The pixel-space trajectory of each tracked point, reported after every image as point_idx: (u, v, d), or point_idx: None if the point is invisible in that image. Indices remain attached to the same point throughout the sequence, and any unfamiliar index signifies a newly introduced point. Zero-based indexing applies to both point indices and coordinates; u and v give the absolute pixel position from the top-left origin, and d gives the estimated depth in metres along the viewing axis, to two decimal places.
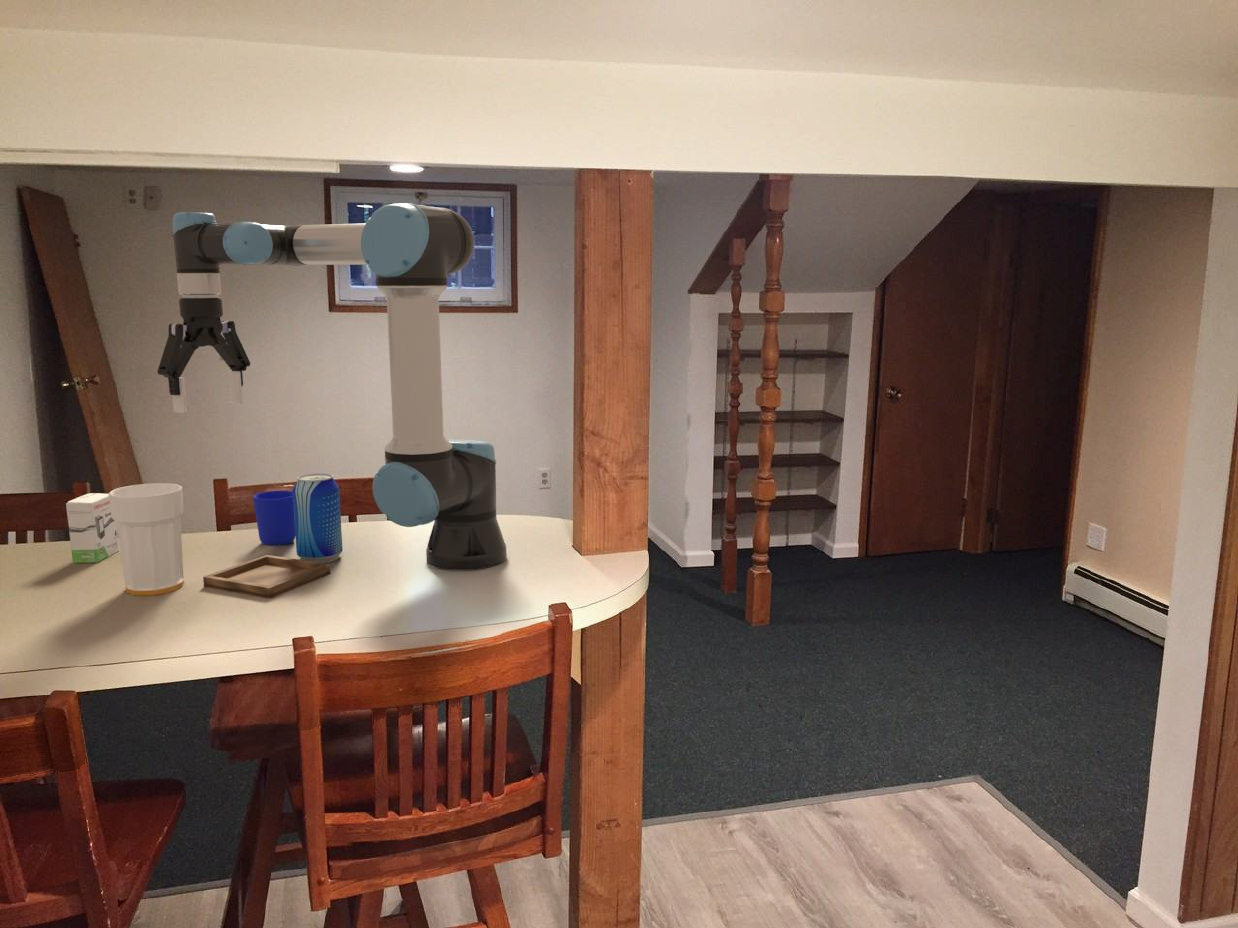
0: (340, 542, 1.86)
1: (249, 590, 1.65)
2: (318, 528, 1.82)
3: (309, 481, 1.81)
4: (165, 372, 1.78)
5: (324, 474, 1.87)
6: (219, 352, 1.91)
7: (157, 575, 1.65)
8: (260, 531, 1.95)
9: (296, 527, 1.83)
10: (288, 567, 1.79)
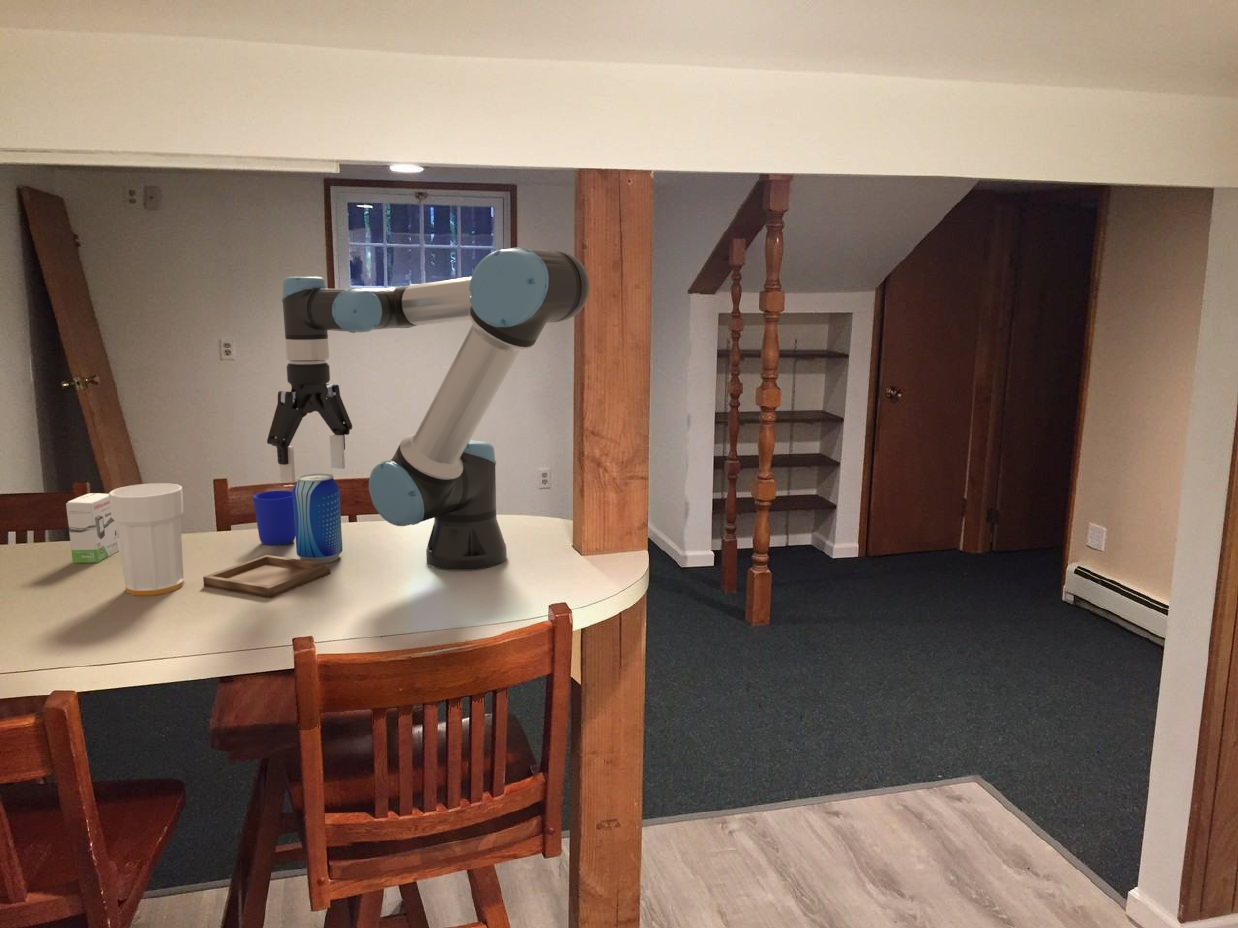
0: (340, 542, 1.86)
1: (249, 590, 1.65)
2: (318, 528, 1.82)
3: (309, 481, 1.81)
4: (275, 442, 1.73)
5: (324, 474, 1.87)
6: (323, 416, 1.86)
7: (157, 575, 1.65)
8: (260, 531, 1.95)
9: (296, 527, 1.83)
10: (288, 567, 1.79)
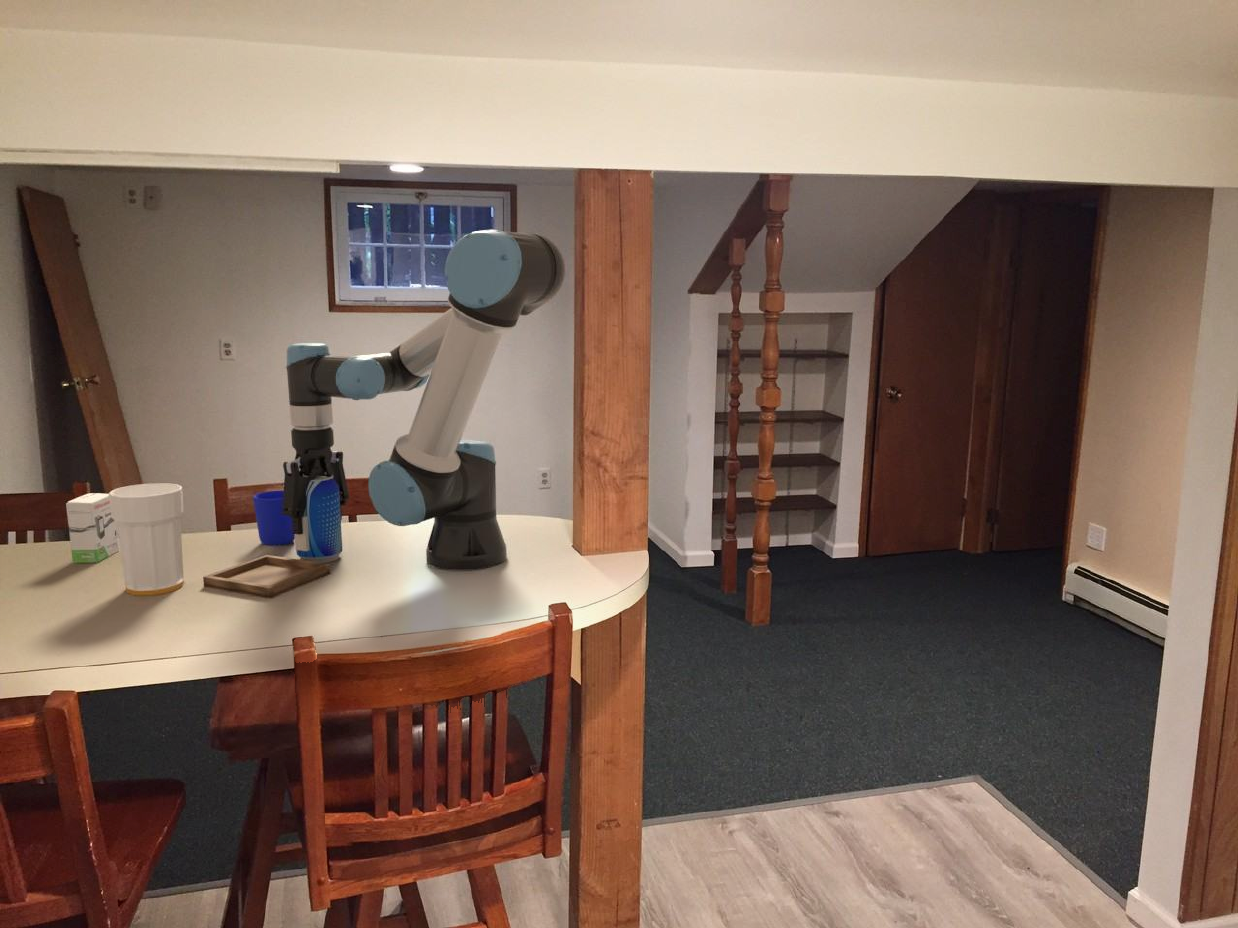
0: (340, 542, 1.86)
1: (249, 590, 1.65)
2: (318, 528, 1.82)
3: None
4: (290, 514, 1.78)
5: None
6: None
7: (157, 575, 1.65)
8: (260, 531, 1.95)
9: None
10: (288, 567, 1.79)
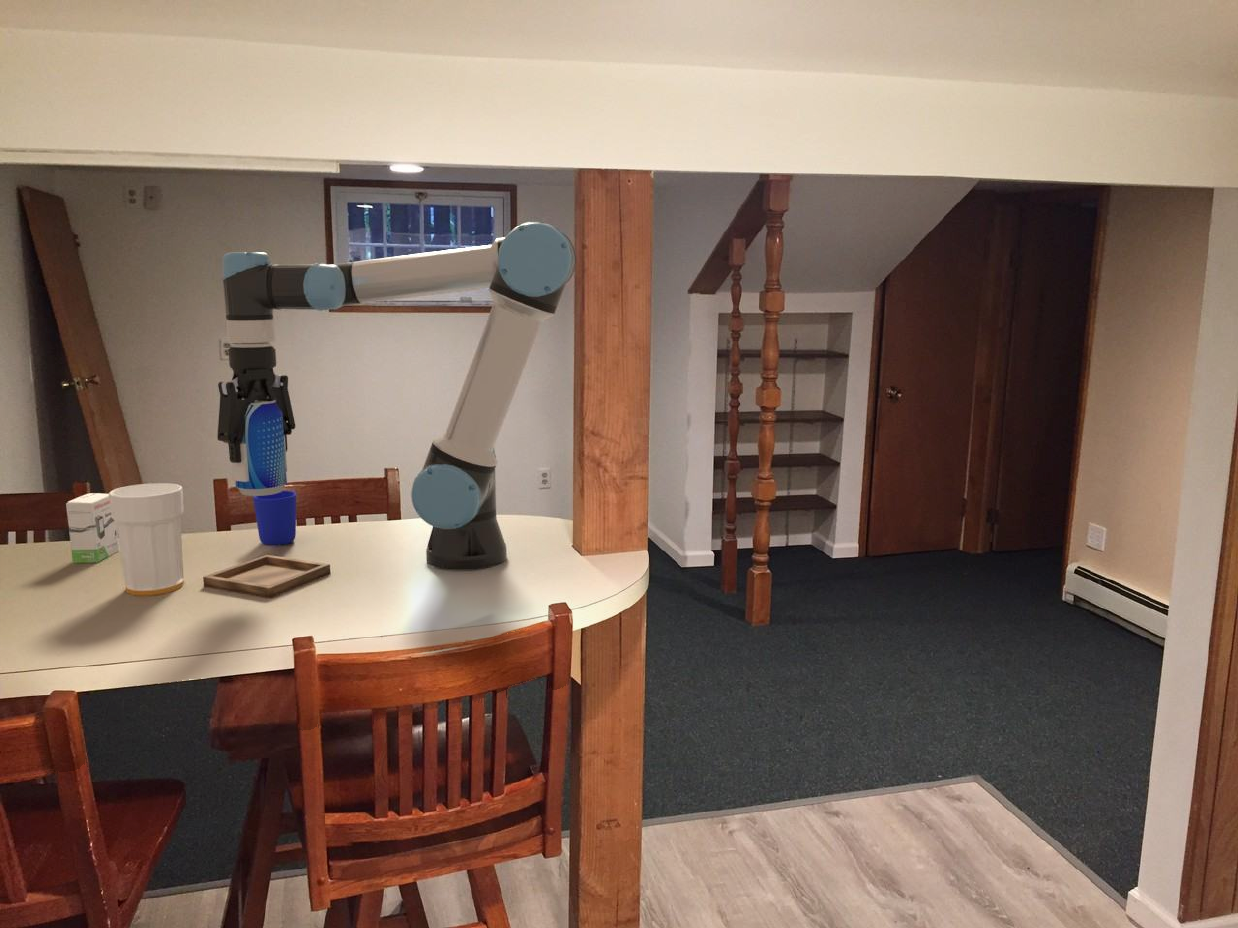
0: (283, 473, 1.70)
1: (249, 590, 1.65)
2: (257, 456, 1.65)
3: None
4: (226, 439, 1.61)
5: None
6: None
7: (157, 575, 1.65)
8: (260, 531, 1.95)
9: None
10: (288, 567, 1.79)
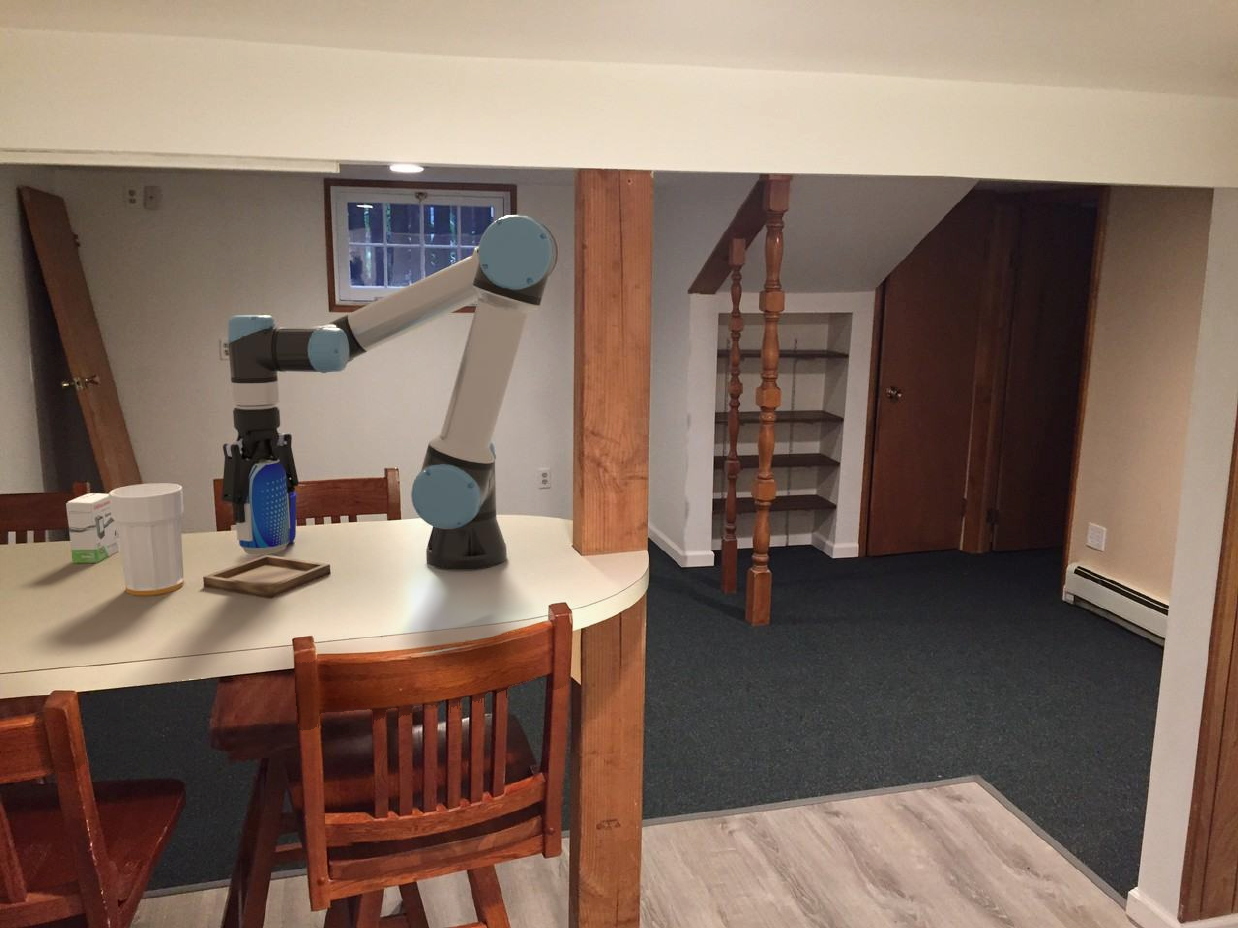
0: (287, 531, 1.72)
1: (249, 590, 1.65)
2: (261, 516, 1.67)
3: None
4: (230, 501, 1.63)
5: None
6: None
7: (157, 575, 1.65)
8: None
9: None
10: (288, 567, 1.79)
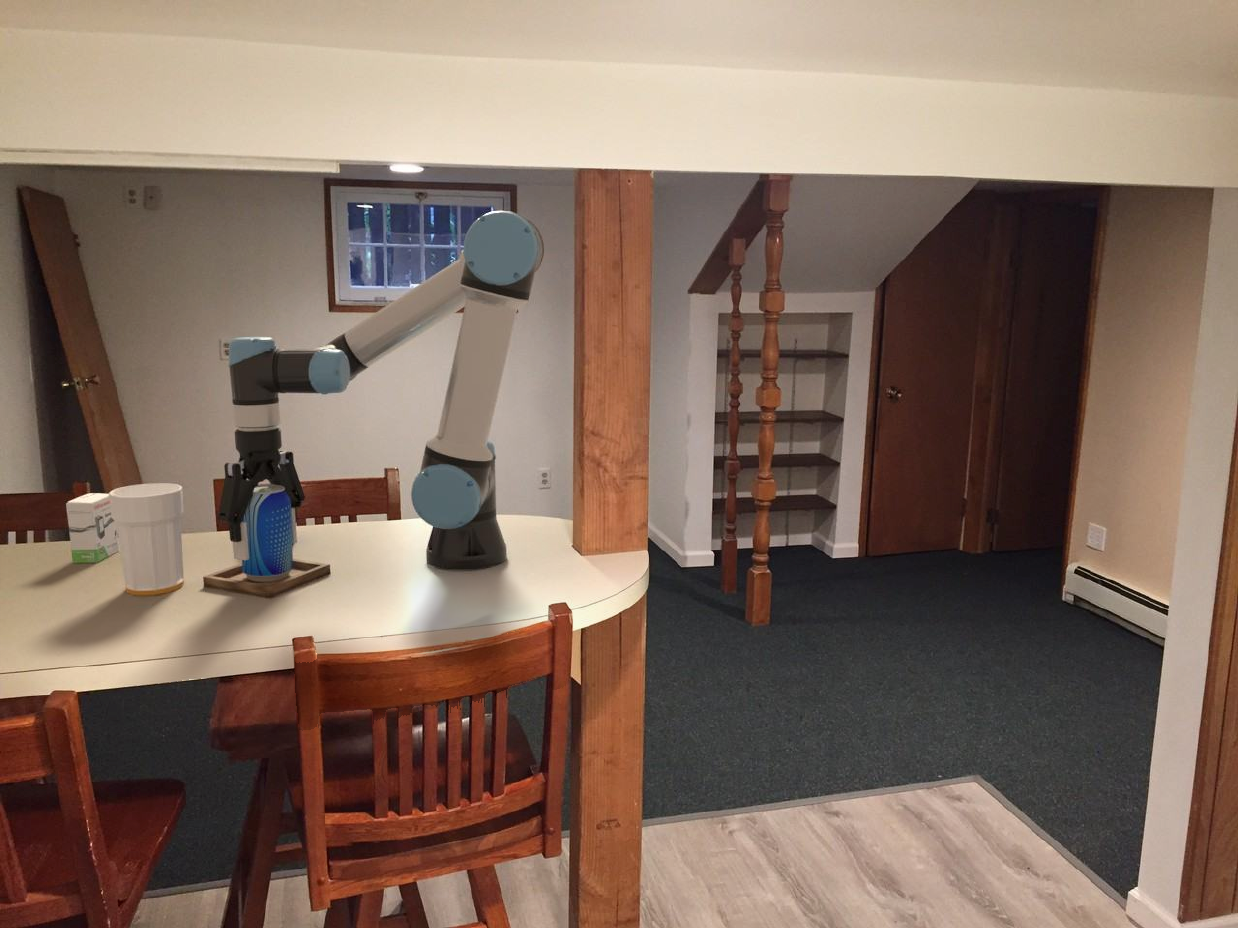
0: (290, 559, 1.73)
1: (249, 590, 1.65)
2: (265, 544, 1.68)
3: (257, 493, 1.67)
4: (226, 519, 1.63)
5: (275, 485, 1.73)
6: None
7: (157, 575, 1.65)
8: None
9: None
10: None
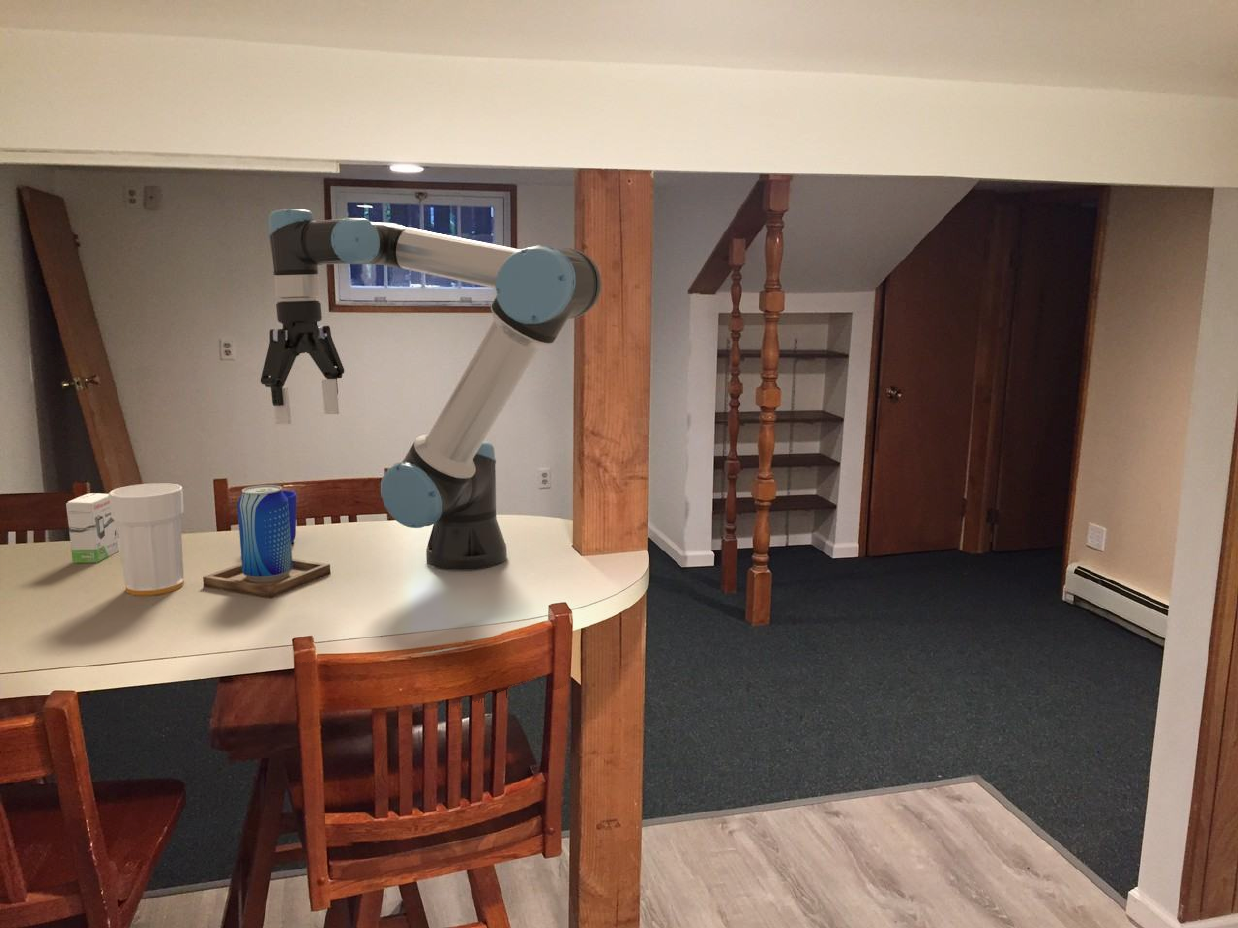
0: (289, 559, 1.73)
1: (249, 590, 1.65)
2: (264, 544, 1.68)
3: (254, 494, 1.67)
4: (270, 381, 1.66)
5: (272, 486, 1.73)
6: (315, 359, 1.79)
7: (157, 575, 1.65)
8: None
9: (241, 543, 1.70)
10: None
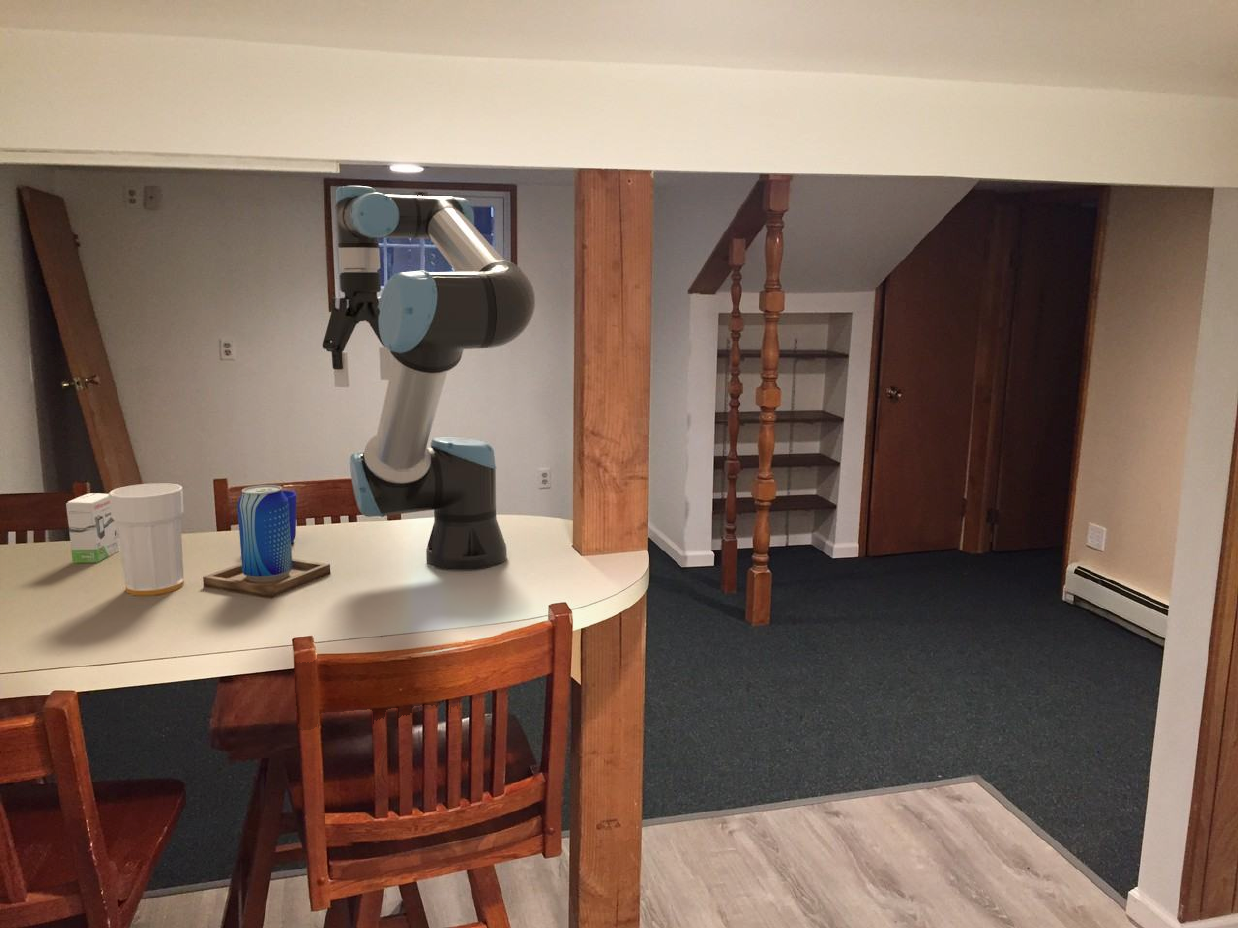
0: (289, 559, 1.73)
1: (249, 590, 1.65)
2: (264, 544, 1.68)
3: (254, 494, 1.67)
4: (331, 346, 1.78)
5: (272, 486, 1.73)
6: (373, 328, 1.91)
7: (157, 575, 1.65)
8: None
9: (241, 543, 1.70)
10: None
